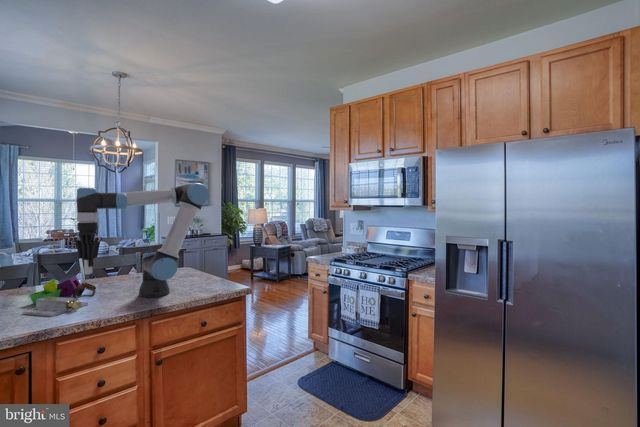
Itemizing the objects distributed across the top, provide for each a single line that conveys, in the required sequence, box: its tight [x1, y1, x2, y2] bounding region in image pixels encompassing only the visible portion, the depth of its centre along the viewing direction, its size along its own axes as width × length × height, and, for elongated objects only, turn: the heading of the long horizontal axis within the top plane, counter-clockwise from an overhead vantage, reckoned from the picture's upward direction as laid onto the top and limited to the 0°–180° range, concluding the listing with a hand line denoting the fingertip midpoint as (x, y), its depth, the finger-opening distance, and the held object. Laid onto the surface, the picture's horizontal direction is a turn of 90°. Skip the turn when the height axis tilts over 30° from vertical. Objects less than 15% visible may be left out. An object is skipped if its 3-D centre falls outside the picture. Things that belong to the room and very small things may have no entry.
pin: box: [68, 300, 82, 311], centre depth 152 cm, size 18×4×4 cm, turn 80°
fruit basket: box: [29, 278, 61, 305], centre depth 164 cm, size 11×9×11 cm
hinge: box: [21, 296, 89, 318], centre depth 152 cm, size 16×18×5 cm
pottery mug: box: [72, 282, 97, 299], centre depth 174 cm, size 12×10×8 cm
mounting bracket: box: [57, 275, 82, 298], centre depth 176 cm, size 10×8×18 cm
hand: (88, 273), depth 149 cm, fingers closed
